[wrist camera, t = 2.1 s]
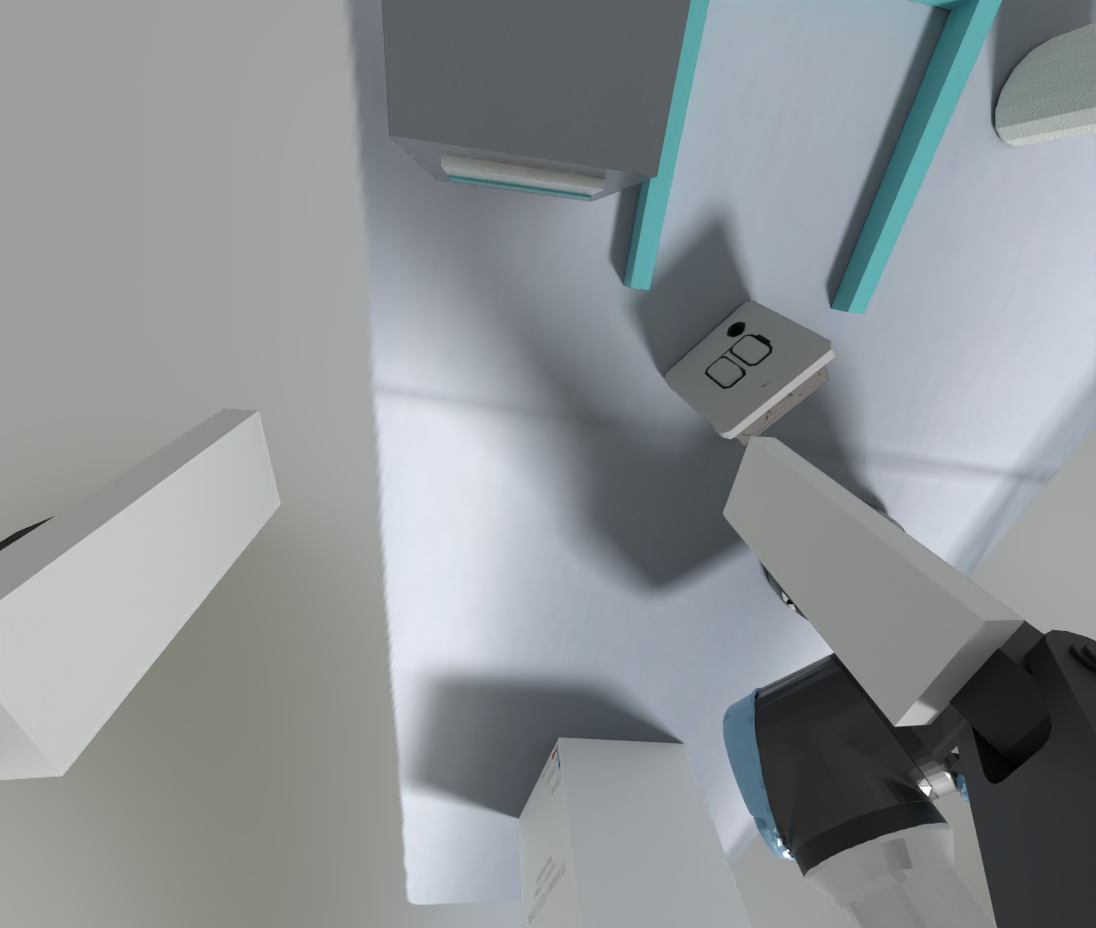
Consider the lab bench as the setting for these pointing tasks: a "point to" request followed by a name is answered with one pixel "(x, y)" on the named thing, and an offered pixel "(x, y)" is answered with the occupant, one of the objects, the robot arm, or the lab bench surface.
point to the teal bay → (910, 161)
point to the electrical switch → (751, 371)
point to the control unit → (534, 90)
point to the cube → (623, 842)
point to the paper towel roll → (1051, 91)
